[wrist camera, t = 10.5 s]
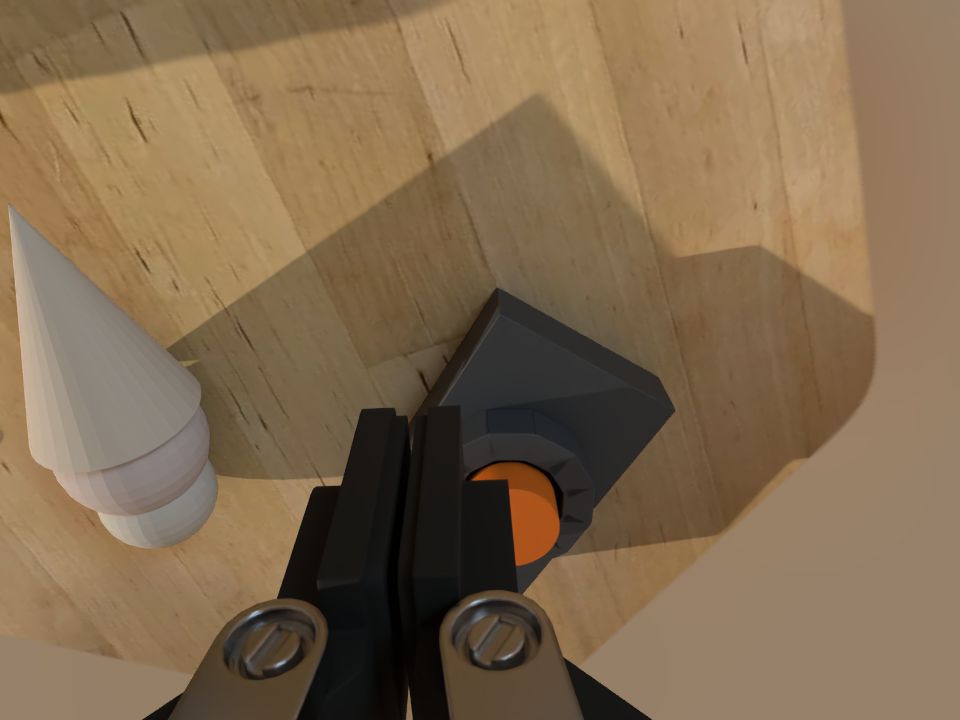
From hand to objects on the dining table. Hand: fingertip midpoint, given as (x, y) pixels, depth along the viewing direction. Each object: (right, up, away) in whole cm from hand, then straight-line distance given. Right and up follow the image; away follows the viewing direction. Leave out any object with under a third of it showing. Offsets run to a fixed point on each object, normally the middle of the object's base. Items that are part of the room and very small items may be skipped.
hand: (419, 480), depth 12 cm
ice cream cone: (-13, +2, +17) cm, 21 cm away
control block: (+2, -1, +19) cm, 19 cm away
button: (+2, -3, +15) cm, 15 cm away
